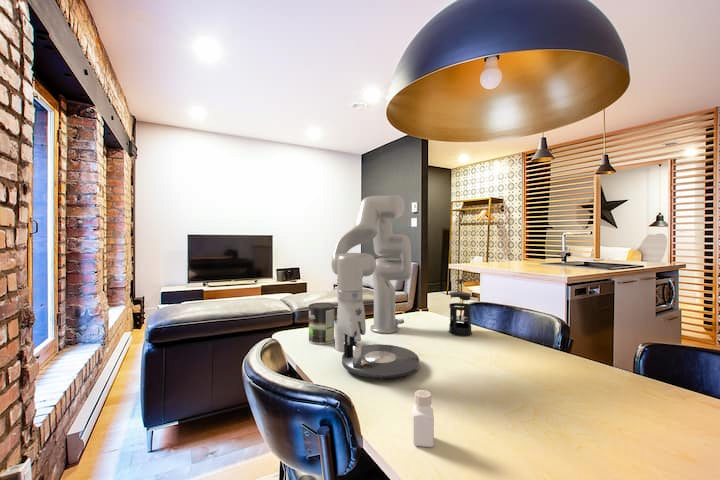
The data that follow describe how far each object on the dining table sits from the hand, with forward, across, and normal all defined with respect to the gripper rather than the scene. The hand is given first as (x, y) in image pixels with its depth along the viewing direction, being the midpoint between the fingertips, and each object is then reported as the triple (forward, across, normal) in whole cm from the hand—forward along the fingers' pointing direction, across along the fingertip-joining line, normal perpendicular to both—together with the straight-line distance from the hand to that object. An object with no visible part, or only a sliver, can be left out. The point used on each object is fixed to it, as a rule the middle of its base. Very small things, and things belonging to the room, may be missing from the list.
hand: (350, 356), depth 95 cm
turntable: (+5, -1, -10) cm, 11 cm away
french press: (+5, +10, -61) cm, 62 cm away
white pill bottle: (+5, -36, +4) cm, 36 cm away
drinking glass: (+5, +19, -8) cm, 21 cm away
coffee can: (+5, +32, -5) cm, 33 cm away
